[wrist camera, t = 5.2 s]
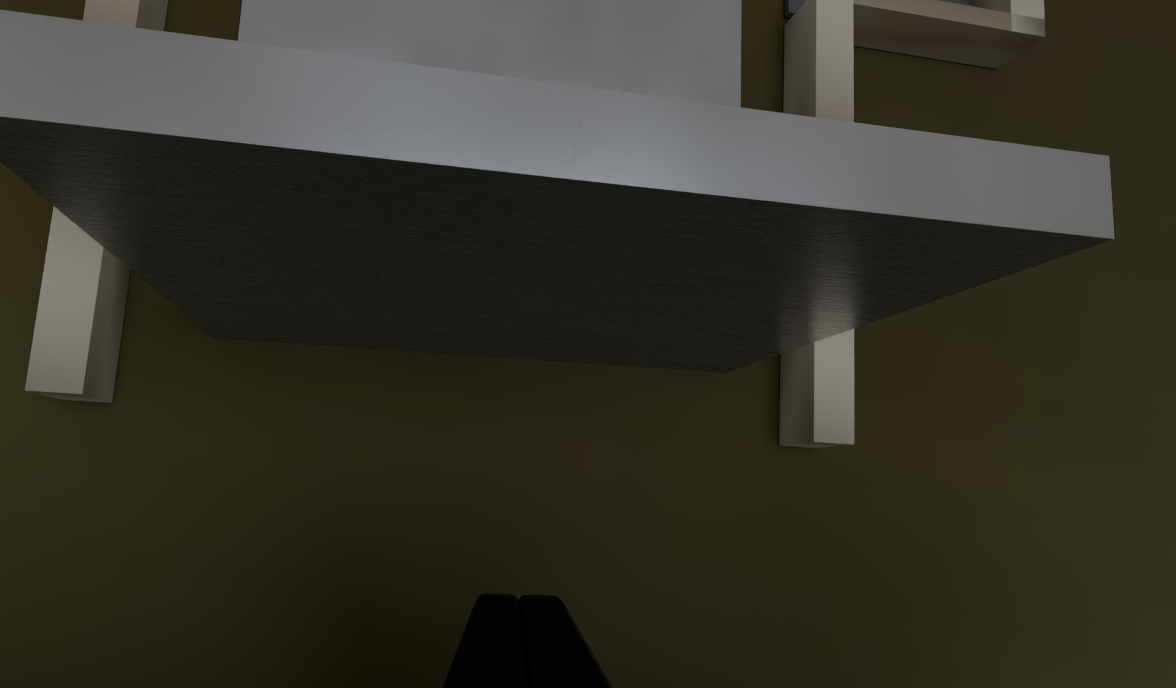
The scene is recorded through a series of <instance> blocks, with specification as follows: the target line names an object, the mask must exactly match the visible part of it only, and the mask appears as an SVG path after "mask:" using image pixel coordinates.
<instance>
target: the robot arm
mask: <svg viewBox="0 0 1176 688" xmlns="http://www.w3.org/2000/svg"><path fill="white" fill-rule="evenodd" d="M443 688H613V687H612V685H611V684H610V682H609V680H608V679H607V677H606V675H605V673H604V672H603V670H602V668H601V667H600V665H599V663H598V661H597V660H596V658H595V656H594V655H593V653H592V651H591V649H590V648H589V646H588V644H587V642H586V641H585V639H584V637H583V636H582V634H581V632H580V630H579V629H578V627H577V625H576V624H575V622H574V620H573V618H572V617H571V615H570V613H569V612H568V610H567V608H566V606H565V605H564V603H563V602H562V601H561V599H559V598H558V597H556V596H553V595H523V596H521V597H520V599H519V600H518V599H517V597H516V596H514V595H512V594H481V595H479V597H478V598H477V599H476V602H475V604H474V607H473V609H472V612H471V614H470V617H469V620H468V622H467V625H466V628H465V630H464V633H463V635H462V638H461V641H460V643H459V646H458V649H457V651H456V654H455V656H454V659H453V662H452V664H451V667H450V670H449V672H448V675H447V677H446V680H445V683H444V685H443Z"/></svg>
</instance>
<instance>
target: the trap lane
mask: <svg viewBox="0 0 1176 688" xmlns="http://www.w3.org/2000/svg"><path fill="white" fill-rule="evenodd" d="M167 5H168V0H86V4H85V10H84V16H83V21H89V22H96V23H104V24H112V25H119V26H127V27H134V28H142V29H149V30H157V31H164V27H165V20H166V13H167ZM785 17H787V18H791V19H790V20H789V21H788V22H787V23H786V24H785V26H784V107H783V113H786V114H793V115H801V116H809V117H816V118H824V119H831V120H839V121H846V122H854V53H853V46H859V47H865V48H872V49H878V50H884V51H890V52H896V53H902V54H908V55H914V56H921V57H927V58H933V59H939V60H945V61H951V62H957V63H963V64H970V65H976V66H982V67H988V68H994V69H999V68H1001V67H1002V66H1004V65H1005V64H1007V63H1008V62H1010V61H1011V60H1012V59H1014V58H1015V57H1017V56H1018V55H1020V54H1021V53H1023V52H1024V51H1025V50H1027V49H1028V48H1030V47H1031V46H1033V45H1034V44H1036V43H1037V42H1039V41H1040V40H1041V39H1043V38H1044V37H1045V18H1044V0H785ZM130 271H131V270H130V269H129V268H128V267H127V266H126V265H124V264H123V263H122V262H121V261H120V260H118V259H117V258H116V257H115V256H113V255H112V254H111V253H110V252H109V251H107V250H106V249H105V248H104V247H103V246H101V245H100V244H99V243H98V242H97V241H95V240H94V239H93V238H92V237H91V236H89V235H88V234H87V233H86V232H84V231H83V230H82V229H81V228H80V227H78V226H77V225H76V224H75V223H74V222H72V221H71V220H70V219H69V218H68V217H66V216H65V215H64V214H63V213H61V212H60V211H59V210H58V209H57V208H55V207H54V208H53V214H52V221H51V227H50V234H49V240H48V246H47V253H46V259H45V266H44V272H43V278H42V285H41V291H40V298H39V304H38V310H37V317H36V323H35V329H34V336H33V342H32V349H31V355H30V361H29V368H28V374H27V381H26V387H25V391H29V392H33V393H37V394H41V395H44V396H48V397H52V398H56V399H60V400H73V401H89V402H104V403H112V400H113V393H114V385H115V378H116V371H117V364H118V357H119V349H120V342H121V335H122V328H123V321H124V314H125V306H126V299H127V292H128V285H129V278H130ZM843 445H854V329H852V330H849V331H846V332H843V333H840V334H837V335H834V336H831V337H828V338H825V339H822V340H820V341H817V342H814V343H811V344H808V345H805V346H802V347H799V348H796V349H793V350H791V351H788V352H785V353H782V354H780V434H779V446H795V447H810V448H821V447H832V446H843Z"/></svg>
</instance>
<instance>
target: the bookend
mask: <svg viewBox="0 0 1176 688" xmlns="http://www.w3.org/2000/svg"><path fill="white" fill-rule="evenodd" d="M740 104H741V0H242V8H241V17H240V26H239V35H238V41H233V40H225V39H218V38H210V37H203V36H195V35H187V34H180V33H172V32H165V31H157V30H149V29H142V28H134V27H127V26H119V25H112V24H104V23H96V22H89V21H81V20H74V19H66V18H59V17H51V16H43V15H36V14H28V13H21V12H13V11H6V10H0V162H1V163H2V164H3V165H5V166H6V167H7V168H8V169H9V170H11V171H12V172H13V173H14V174H16V175H17V176H18V177H19V178H20V179H22V180H23V181H24V182H25V183H26V184H28V185H29V186H30V187H31V188H32V189H34V190H35V191H36V192H37V193H39V194H40V195H41V196H42V197H43V198H45V199H46V200H47V201H48V202H49V203H51V204H52V205H53V206H54V207H55V208H57V209H58V210H59V211H60V212H61V213H63V214H64V215H65V216H66V217H68V218H69V219H70V220H71V221H72V222H74V223H75V224H76V225H77V226H78V227H80V228H81V229H82V230H83V231H84V232H86V233H87V234H88V235H89V236H91V237H92V238H93V239H94V240H95V241H97V242H98V243H99V244H100V245H101V246H103V247H104V248H105V249H106V250H107V251H109V252H110V253H111V254H112V255H113V256H115V257H116V258H117V259H118V260H120V261H121V262H122V263H123V264H124V265H126V266H127V267H128V268H129V269H130V270H132V271H133V272H134V273H135V274H136V275H138V276H139V277H140V278H141V279H143V280H144V281H145V282H146V283H147V284H149V285H150V286H151V287H152V288H153V289H155V290H156V291H157V292H158V293H159V294H161V295H162V296H163V297H164V298H165V299H167V300H168V301H169V302H170V303H172V304H173V305H174V306H175V307H176V308H178V309H179V310H180V311H181V312H182V313H184V314H185V315H186V316H187V317H188V318H190V319H191V320H192V321H193V322H195V323H196V324H197V325H198V326H199V327H201V328H202V329H203V330H204V331H205V332H207V333H208V334H209V335H210V336H211V337H213V338H220V339H235V340H250V341H265V342H280V343H295V344H309V345H324V346H339V347H354V348H369V349H384V350H399V351H413V352H428V353H443V354H458V355H473V356H488V357H503V358H517V359H532V360H547V361H562V362H577V363H592V364H606V365H621V366H636V367H651V368H666V369H681V370H696V371H710V372H725V373H727V372H730V371H732V370H735V369H738V368H741V367H744V366H747V365H750V364H753V363H756V362H759V361H761V360H764V359H767V358H770V357H773V356H776V355H779V354H782V353H785V352H788V351H791V350H793V349H796V348H799V347H802V346H805V345H808V344H811V343H814V342H817V341H820V340H822V339H825V338H828V337H831V336H834V335H837V334H840V333H843V332H846V331H849V330H852V329H854V328H857V327H860V326H863V325H866V324H869V323H872V322H875V321H878V320H881V319H883V318H886V317H889V316H892V315H895V314H898V313H901V312H904V311H907V310H910V309H913V308H915V307H918V306H921V305H924V304H927V303H930V302H933V301H936V300H939V299H942V298H944V297H947V296H950V295H953V294H956V293H959V292H962V291H965V290H968V289H971V288H974V287H976V286H979V285H982V284H985V283H988V282H991V281H994V280H997V279H1000V278H1003V277H1005V276H1008V275H1011V274H1014V273H1017V272H1020V271H1023V270H1026V269H1029V268H1032V267H1035V266H1037V265H1040V264H1043V263H1046V262H1049V261H1052V260H1055V259H1058V258H1061V257H1064V256H1066V255H1069V254H1072V253H1075V252H1078V251H1081V250H1084V249H1087V248H1090V247H1093V246H1096V245H1098V244H1101V243H1104V242H1107V241H1110V240H1113V239H1114V225H1113V209H1112V194H1111V179H1110V163H1109V156H1104V155H1096V154H1089V153H1081V152H1074V151H1066V150H1059V149H1051V148H1043V147H1036V146H1028V145H1021V144H1013V143H1006V142H998V141H990V140H983V139H975V138H968V137H960V136H953V135H945V134H937V133H930V132H922V131H915V130H907V129H899V128H892V127H884V126H877V125H869V124H862V123H854V122H846V121H839V120H831V119H824V118H816V117H809V116H801V115H793V114H786V113H778V112H771V111H763V110H756V109H748V108H740Z"/></svg>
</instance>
